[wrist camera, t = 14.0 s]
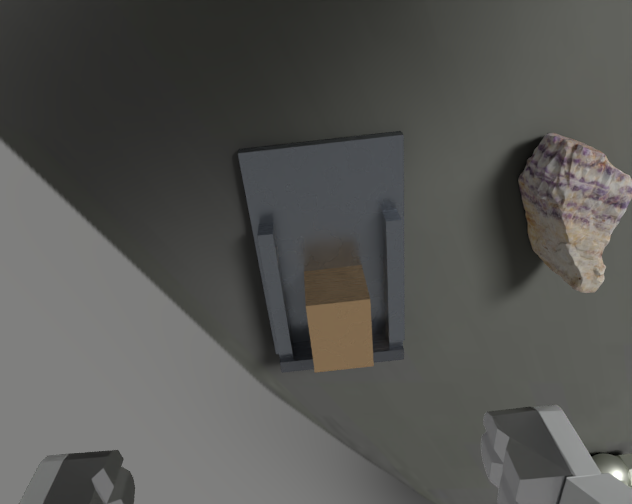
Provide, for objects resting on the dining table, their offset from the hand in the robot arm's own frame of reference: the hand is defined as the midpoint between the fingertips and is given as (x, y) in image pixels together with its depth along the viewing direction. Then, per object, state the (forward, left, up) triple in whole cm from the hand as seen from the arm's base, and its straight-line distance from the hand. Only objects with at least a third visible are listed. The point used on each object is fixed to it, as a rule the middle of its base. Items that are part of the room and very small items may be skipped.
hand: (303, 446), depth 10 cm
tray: (-2, +12, -28) cm, 30 cm away
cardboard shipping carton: (-2, +16, -27) cm, 32 cm away
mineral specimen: (-21, +8, -28) cm, 36 cm away
